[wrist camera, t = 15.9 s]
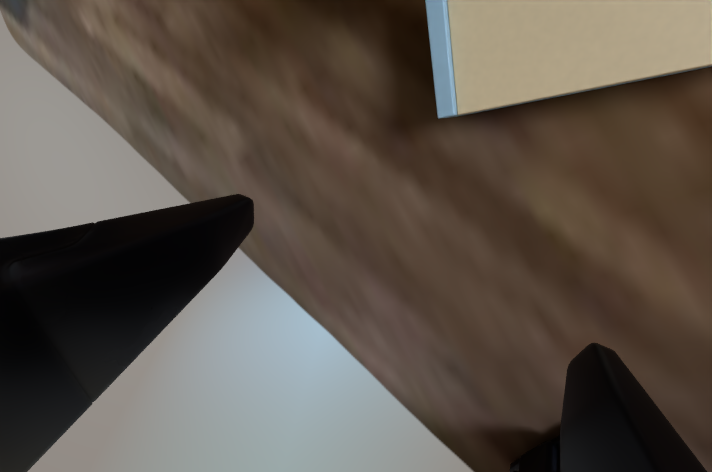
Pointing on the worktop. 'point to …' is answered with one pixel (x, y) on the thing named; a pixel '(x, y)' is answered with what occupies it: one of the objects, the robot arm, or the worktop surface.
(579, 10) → the spice rack
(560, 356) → the worktop surface
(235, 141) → the worktop surface
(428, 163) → the worktop surface
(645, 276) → the worktop surface
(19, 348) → the robot arm
